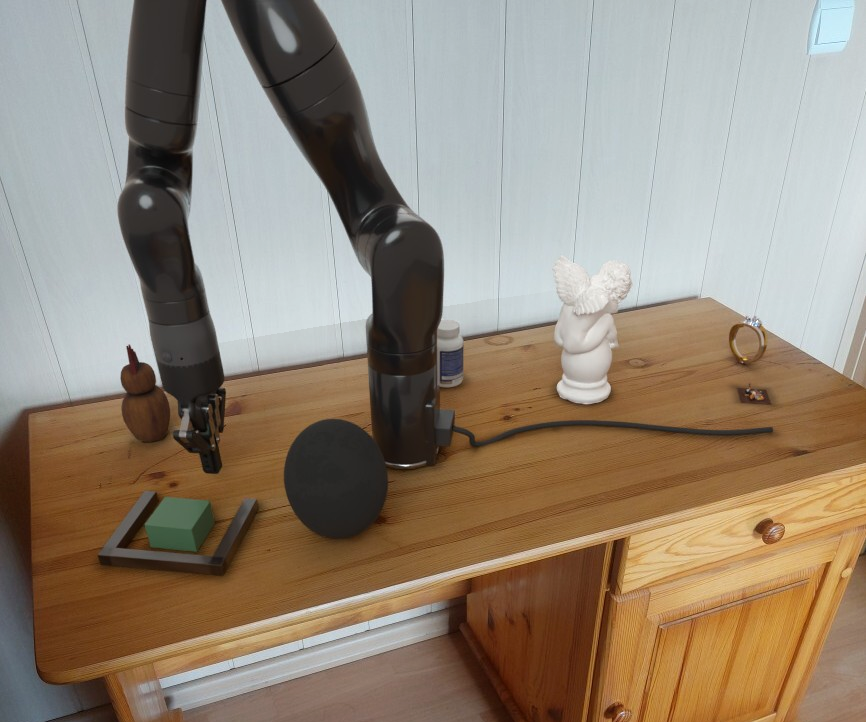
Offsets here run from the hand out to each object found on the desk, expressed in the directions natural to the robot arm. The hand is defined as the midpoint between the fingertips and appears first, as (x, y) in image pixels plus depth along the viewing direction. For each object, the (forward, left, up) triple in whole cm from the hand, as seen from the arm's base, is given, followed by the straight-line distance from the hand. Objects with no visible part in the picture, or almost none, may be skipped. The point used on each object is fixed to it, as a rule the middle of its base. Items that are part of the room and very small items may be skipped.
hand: (213, 470), depth 109 cm
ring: (-76, -48, -3) cm, 90 cm away
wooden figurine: (+14, -12, -3) cm, 18 cm away
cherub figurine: (-49, -32, -3) cm, 58 cm away
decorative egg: (-19, +7, -3) cm, 21 cm away
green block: (0, +11, -3) cm, 11 cm away
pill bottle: (-27, -35, -3) cm, 44 cm away
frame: (0, +10, -3) cm, 11 cm away
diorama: (-76, -36, -3) cm, 84 cm away
